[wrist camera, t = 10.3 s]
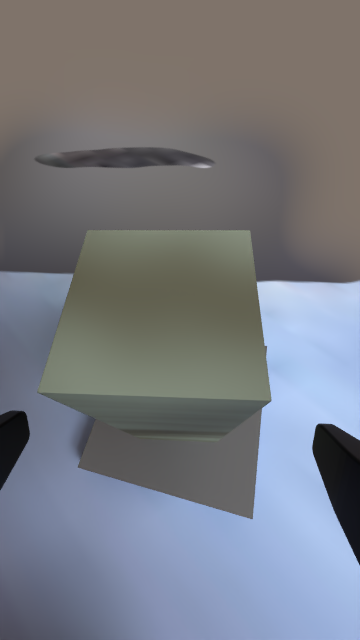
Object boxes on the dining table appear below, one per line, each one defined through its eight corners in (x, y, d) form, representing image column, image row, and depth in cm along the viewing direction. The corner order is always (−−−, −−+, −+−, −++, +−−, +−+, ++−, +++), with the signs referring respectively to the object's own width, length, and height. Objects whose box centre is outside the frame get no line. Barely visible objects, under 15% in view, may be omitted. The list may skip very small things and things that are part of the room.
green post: (216, 442, 17) (271, 400, 5) (140, 438, 17) (37, 392, 6) (214, 368, 19) (249, 230, 8) (148, 366, 19) (87, 230, 8)
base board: (247, 514, 16) (252, 519, 15) (86, 466, 18) (77, 467, 16) (261, 354, 21) (267, 346, 20) (136, 328, 23) (132, 319, 21)
